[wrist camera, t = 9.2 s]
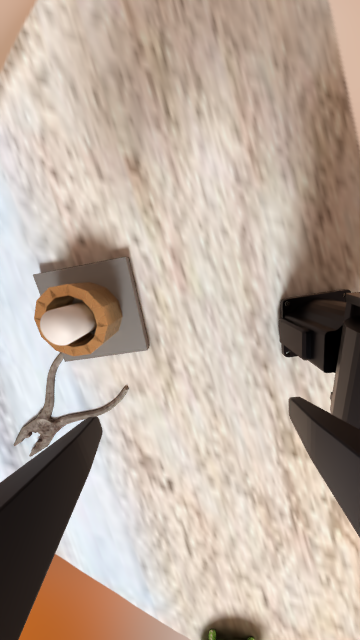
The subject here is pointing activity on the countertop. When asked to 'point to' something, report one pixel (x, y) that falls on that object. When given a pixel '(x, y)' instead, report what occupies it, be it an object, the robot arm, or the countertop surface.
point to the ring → (96, 300)
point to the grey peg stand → (80, 318)
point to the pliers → (50, 426)
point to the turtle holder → (213, 635)
